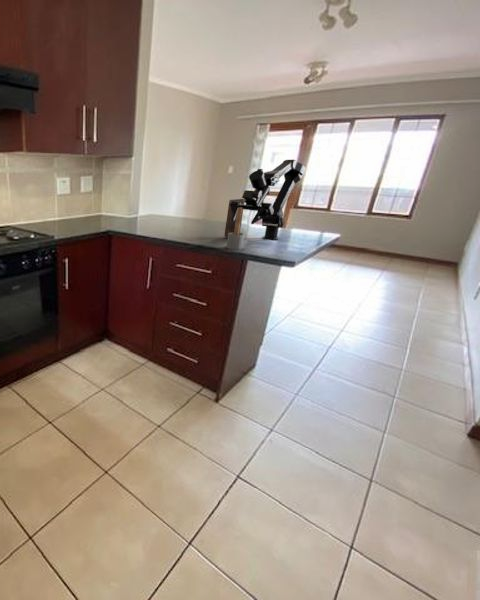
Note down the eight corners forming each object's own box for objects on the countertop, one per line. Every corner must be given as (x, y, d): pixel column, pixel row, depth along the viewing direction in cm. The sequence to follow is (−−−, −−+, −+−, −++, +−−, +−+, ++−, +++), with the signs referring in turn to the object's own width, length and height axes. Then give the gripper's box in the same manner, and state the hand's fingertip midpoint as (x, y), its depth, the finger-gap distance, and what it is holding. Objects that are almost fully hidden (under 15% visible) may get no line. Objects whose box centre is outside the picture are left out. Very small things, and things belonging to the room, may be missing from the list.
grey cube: (227, 246, 159) (229, 232, 157) (243, 247, 156) (245, 232, 154) (225, 249, 154) (227, 234, 151) (241, 251, 151) (243, 235, 148)
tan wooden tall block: (239, 240, 172) (245, 199, 164) (224, 239, 174) (229, 199, 166) (238, 237, 179) (243, 198, 171) (223, 236, 181) (228, 198, 173)
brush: (231, 246, 157) (236, 207, 150) (238, 247, 155) (244, 207, 149) (230, 248, 154) (235, 208, 148) (238, 248, 153) (243, 208, 146)
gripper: (234, 183, 156) (217, 209, 155) (275, 183, 142) (257, 212, 140) (241, 199, 163) (225, 224, 162) (281, 201, 149) (264, 229, 147)
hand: (241, 222), depth 153 cm, fingers open, 9 cm apart
